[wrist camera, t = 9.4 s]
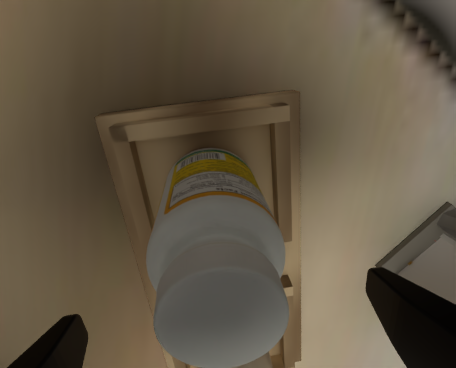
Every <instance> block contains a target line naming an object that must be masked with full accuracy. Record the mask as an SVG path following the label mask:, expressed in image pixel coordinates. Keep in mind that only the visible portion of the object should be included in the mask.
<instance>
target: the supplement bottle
mask: <svg viewBox="0 0 456 368" xmlns="http://www.w3.org/2000/svg"><path fill="white" fill-rule="evenodd" d="M146 265H147V271H148V275H149V279H150V281H151V283H152V286H153V287H154V289H155V290H156V304H155V310H154V330H155V334H156V337H157V339H158V341H159V343H160V344H161V346H162V347H163V348H164V349H165V350H166V351H167V352H168V353H169V354H170V355H171V356H173V357H175V358H176V359H178V360H180V361H182V362H184V363H186V364H189V365H192V366H196V367H201V368H231V367H236V366H240V365H243V364H247V363H249V362H251V361H253V360H255V359H257V358H259V357H261V356H263V355H264V354H266V353H267V352H268V351H270V350H271V349H272V348H273V347H274V346H275V345H276V344H277V343H278V341H279V340H280V339H281V337H282V336H283V334H284V333H285V330H286V328H287V325H288V320H289V305H288V301H287V297H286V294H285V291H284V288H283V286H282V283H281V279H280V278H281V276H282V273H283V270H284V266H285V244H284V240H283V236H282V234H281V231H280V229H279V227H278V224H277V222H276V220H275V218H274V216H273V214H272V212H271V210H270V208H269V206H268V204H267V202H266V200H265V198H264V196H263V194H262V192H261V190H260V188H259V186H258V184H257V182H256V180H255V178H254V175H253V174H252V172H251V170H250V168H249V167H248V165H247V164H246V163H245V162H244V161H243V160H242V159H241V158H240V157H238V156H237V155H235V154H234V153H232V152H230V151H227V150H224V149H219V148H202V149H198V150H194V151H192V152H190V153H188V154H186V155H184V156H183V157H182V158H180V159H179V160H178V161H177V162H176V163H175V164H174V166H173V167H172V168H171V170H170V172H169V174H168V176H167V179H166V182H165V186H164V189H163V193H162V197H161V200H160V204H159V207H158V211H157V215H156V218H155V221H154V225H153V228H152V232H151V235H150V239H149V242H148V246H147V253H146Z"/></svg>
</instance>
